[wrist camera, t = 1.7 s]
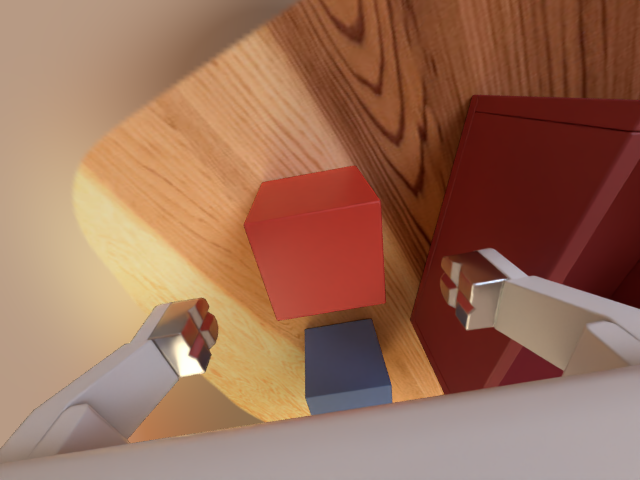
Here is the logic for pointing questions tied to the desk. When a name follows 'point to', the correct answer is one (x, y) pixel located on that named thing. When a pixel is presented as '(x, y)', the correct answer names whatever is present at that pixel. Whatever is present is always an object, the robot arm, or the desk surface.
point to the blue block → (345, 368)
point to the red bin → (534, 221)
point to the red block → (318, 242)
